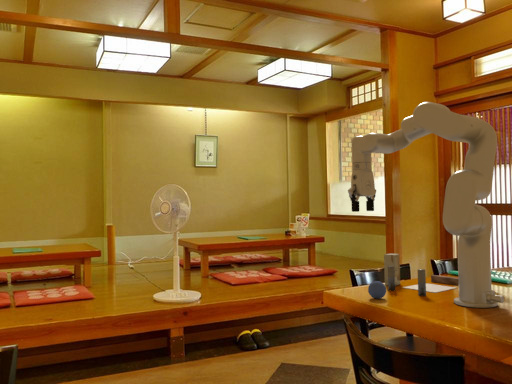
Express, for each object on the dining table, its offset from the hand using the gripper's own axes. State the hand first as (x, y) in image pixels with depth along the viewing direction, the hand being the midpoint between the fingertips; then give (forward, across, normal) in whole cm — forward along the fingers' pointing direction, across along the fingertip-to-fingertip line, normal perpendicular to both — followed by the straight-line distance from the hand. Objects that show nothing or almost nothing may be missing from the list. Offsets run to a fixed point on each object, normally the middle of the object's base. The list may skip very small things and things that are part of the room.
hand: (363, 211), depth 184 cm
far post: (+30, +1, -11) cm, 32 cm away
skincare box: (+30, +12, -5) cm, 33 cm away
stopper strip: (+30, +28, -21) cm, 46 cm away
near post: (+30, 0, -24) cm, 38 cm away
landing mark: (+30, +14, -19) cm, 38 cm away
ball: (+27, -16, -16) cm, 35 cm away
